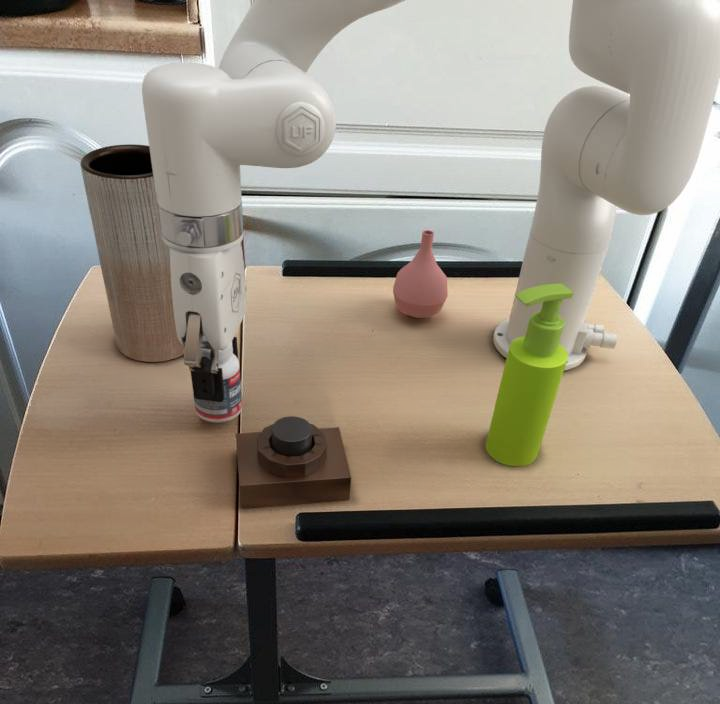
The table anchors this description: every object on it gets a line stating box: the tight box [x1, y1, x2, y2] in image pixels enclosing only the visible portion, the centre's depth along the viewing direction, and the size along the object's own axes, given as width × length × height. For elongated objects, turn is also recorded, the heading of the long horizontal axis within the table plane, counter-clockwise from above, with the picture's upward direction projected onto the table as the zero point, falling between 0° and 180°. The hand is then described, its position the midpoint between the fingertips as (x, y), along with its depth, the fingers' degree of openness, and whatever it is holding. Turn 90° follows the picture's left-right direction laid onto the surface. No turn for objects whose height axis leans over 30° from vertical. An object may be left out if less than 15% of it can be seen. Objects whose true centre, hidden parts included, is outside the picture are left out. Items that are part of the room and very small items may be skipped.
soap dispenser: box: [485, 284, 573, 467], centre depth 73 cm, size 6×7×20 cm
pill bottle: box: [193, 336, 243, 423], centre depth 76 cm, size 5×5×9 cm
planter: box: [79, 143, 185, 363], centre depth 83 cm, size 10×10×23 cm
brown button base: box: [235, 423, 352, 509], centre depth 72 cm, size 11×8×5 cm
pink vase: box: [392, 229, 449, 319], centre depth 96 cm, size 8×8×12 cm
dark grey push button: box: [272, 415, 312, 457], centre depth 70 cm, size 4×4×2 cm
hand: (217, 381), depth 77 cm, fingers closed on pill bottle, 5 cm apart
